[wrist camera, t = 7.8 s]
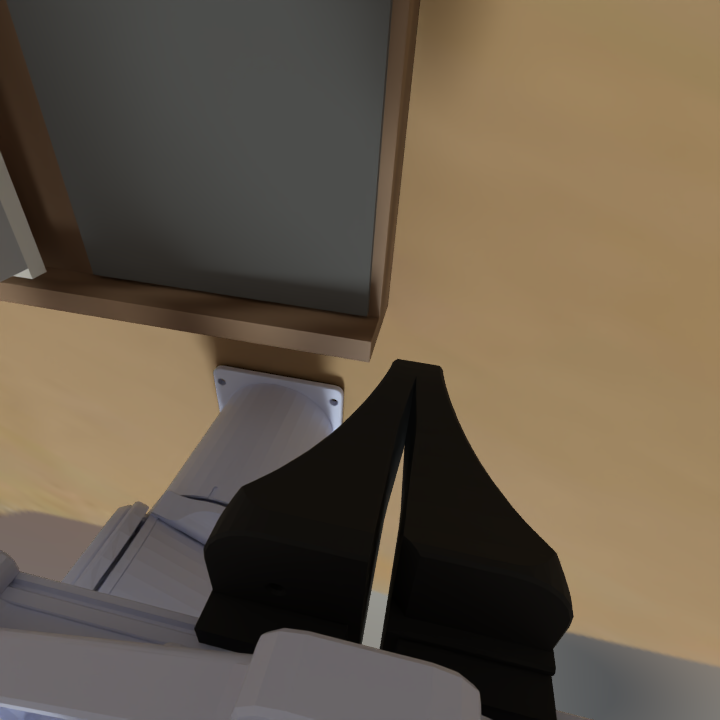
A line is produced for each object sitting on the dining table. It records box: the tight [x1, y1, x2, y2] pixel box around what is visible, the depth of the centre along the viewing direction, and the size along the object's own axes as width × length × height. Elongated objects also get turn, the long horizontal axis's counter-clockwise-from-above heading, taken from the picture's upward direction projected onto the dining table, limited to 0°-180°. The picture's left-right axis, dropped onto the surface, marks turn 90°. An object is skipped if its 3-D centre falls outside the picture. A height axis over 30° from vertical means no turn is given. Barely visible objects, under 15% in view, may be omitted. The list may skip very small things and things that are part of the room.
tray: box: [0, 0, 420, 362], centre depth 18 cm, size 28×15×5 cm, turn 87°
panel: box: [6, 0, 393, 317], centre depth 16 cm, size 13×13×1 cm
